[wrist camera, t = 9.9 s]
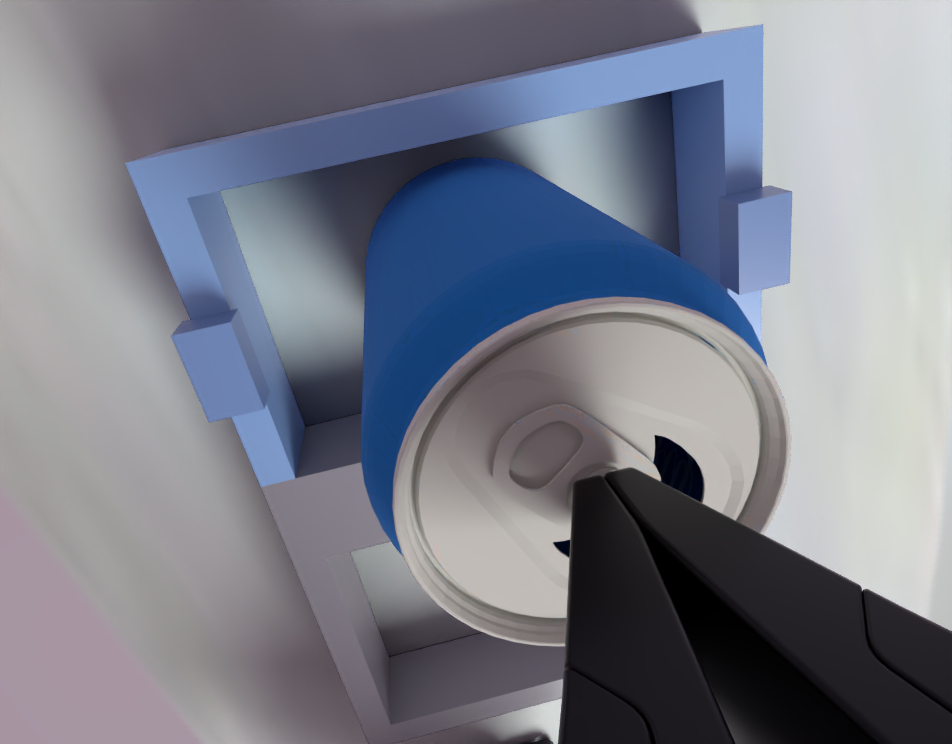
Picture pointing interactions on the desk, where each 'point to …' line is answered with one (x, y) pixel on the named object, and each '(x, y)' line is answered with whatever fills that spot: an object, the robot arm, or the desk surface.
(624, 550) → the robot arm
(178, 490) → the desk surface
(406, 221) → the beverage can
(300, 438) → the slot holder
